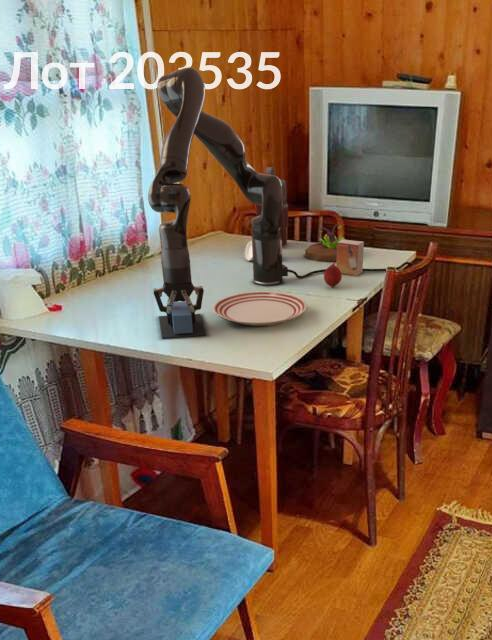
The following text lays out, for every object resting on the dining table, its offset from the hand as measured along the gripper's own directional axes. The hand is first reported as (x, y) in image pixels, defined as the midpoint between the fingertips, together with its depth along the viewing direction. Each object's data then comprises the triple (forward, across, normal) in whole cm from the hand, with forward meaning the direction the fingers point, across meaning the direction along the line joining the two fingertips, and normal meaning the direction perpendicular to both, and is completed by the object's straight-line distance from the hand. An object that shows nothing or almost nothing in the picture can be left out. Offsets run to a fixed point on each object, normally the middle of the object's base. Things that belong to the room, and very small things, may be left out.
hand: (181, 324), depth 208 cm
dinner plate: (+1, -23, -6) cm, 24 cm away
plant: (+1, -61, -70) cm, 93 cm away
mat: (+1, 0, -1) cm, 1 cm away
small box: (+1, -61, -46) cm, 76 cm away
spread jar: (+1, -34, -68) cm, 76 cm away
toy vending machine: (+1, -42, -88) cm, 98 cm away
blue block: (-3, 0, +7) cm, 8 cm away
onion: (+1, -51, -30) cm, 59 cm away
